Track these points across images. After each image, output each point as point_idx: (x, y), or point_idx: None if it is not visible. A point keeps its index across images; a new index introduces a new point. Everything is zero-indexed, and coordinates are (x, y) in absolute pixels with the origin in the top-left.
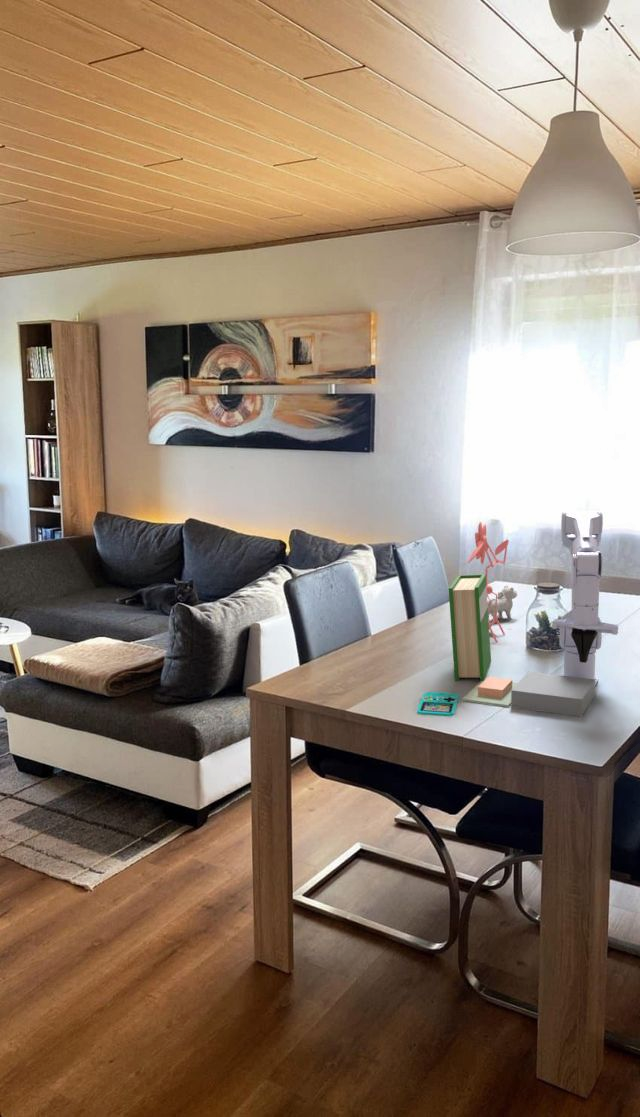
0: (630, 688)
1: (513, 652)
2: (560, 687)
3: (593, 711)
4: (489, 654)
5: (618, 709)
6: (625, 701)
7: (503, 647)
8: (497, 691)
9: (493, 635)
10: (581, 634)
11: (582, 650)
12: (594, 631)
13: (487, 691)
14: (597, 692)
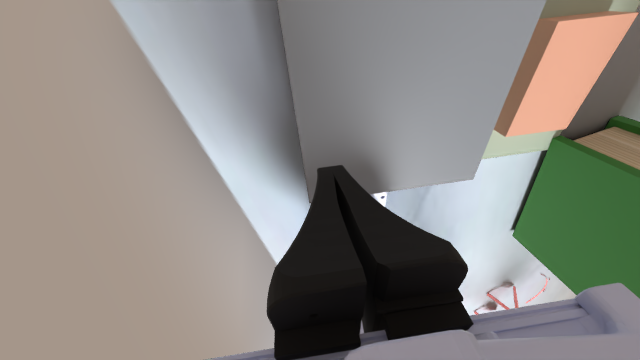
0: (261, 239)
1: (466, 278)
2: (380, 93)
3: (265, 64)
4: (533, 238)
5: (218, 117)
6: (233, 176)
7: (479, 285)
8: (568, 19)
9: (499, 301)
10: (381, 287)
11: (344, 206)
12: (286, 349)
13: (595, 14)
14: (306, 196)
